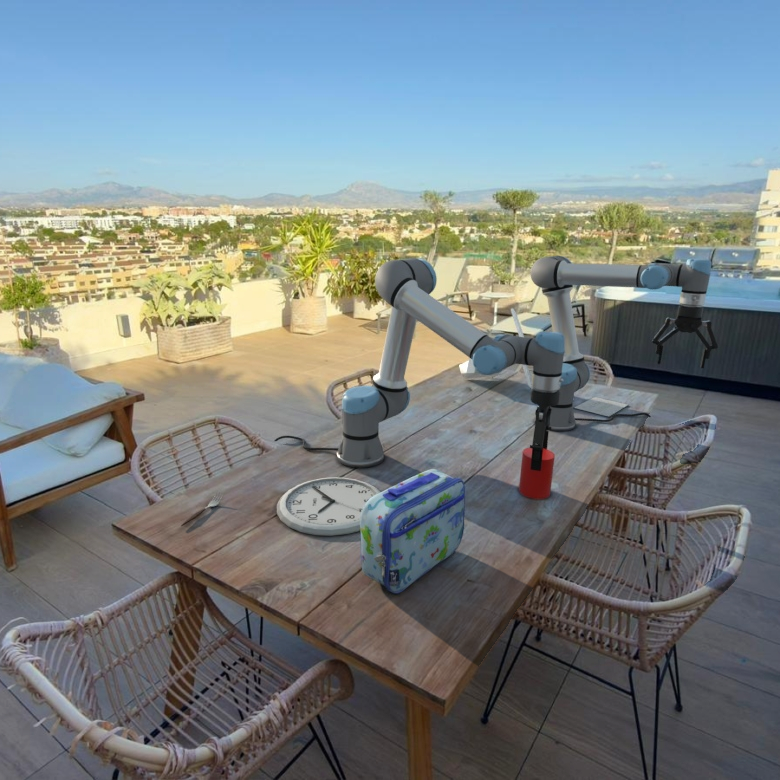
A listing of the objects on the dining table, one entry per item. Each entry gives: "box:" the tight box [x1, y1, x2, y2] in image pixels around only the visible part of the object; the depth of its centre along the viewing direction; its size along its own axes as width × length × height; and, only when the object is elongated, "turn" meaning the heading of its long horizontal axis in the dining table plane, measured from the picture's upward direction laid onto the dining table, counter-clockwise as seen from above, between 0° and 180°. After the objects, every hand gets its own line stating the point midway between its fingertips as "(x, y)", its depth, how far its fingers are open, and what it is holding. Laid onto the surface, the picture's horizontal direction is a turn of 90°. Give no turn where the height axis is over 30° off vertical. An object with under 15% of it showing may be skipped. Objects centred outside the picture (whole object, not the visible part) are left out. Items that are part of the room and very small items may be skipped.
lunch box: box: [359, 468, 466, 594], centre depth 114 cm, size 26×11×21 cm, turn 134°
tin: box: [518, 447, 556, 500], centre depth 150 cm, size 9×9×12 cm
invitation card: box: [573, 396, 629, 418], centre depth 226 cm, size 21×1×15 cm
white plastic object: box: [458, 307, 533, 390], centre depth 255 cm, size 37×45×31 cm
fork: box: [180, 491, 225, 527], centre depth 138 cm, size 3×16×2 cm, turn 160°
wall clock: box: [276, 476, 382, 537], centre depth 142 cm, size 30×2×30 cm
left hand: (538, 460), depth 149 cm, fingers open, 13 cm apart
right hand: (679, 365), depth 185 cm, fingers open, 13 cm apart
